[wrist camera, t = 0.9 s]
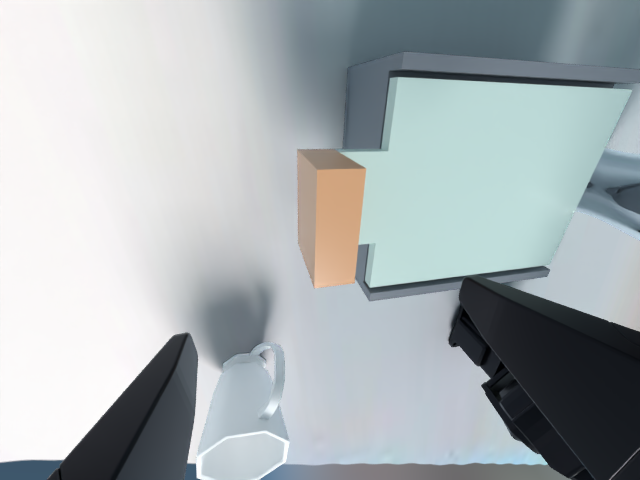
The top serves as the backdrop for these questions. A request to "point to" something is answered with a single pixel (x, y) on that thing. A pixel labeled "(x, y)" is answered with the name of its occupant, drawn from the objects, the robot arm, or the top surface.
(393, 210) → the lid
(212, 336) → the top surface
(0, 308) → the top surface
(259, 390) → the cup
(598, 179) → the beer glass
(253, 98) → the top surface
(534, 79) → the tub
